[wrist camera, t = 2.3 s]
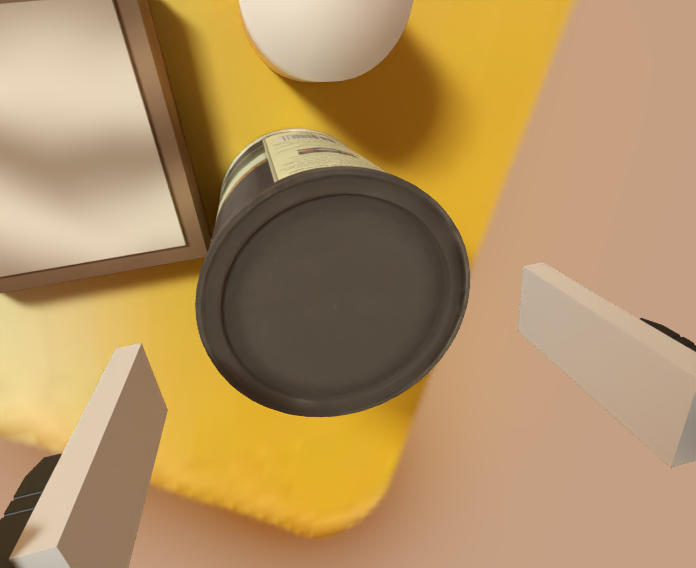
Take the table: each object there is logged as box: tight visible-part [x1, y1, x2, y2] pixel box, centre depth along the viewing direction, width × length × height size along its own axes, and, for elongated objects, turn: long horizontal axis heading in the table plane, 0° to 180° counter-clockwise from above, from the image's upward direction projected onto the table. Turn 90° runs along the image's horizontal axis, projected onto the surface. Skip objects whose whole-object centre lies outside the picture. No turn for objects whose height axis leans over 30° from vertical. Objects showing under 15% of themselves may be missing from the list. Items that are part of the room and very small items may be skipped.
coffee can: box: [195, 129, 470, 417], centre depth 22 cm, size 10×10×14 cm
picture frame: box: [0, 0, 212, 293], centre depth 22 cm, size 14×14×3 cm
